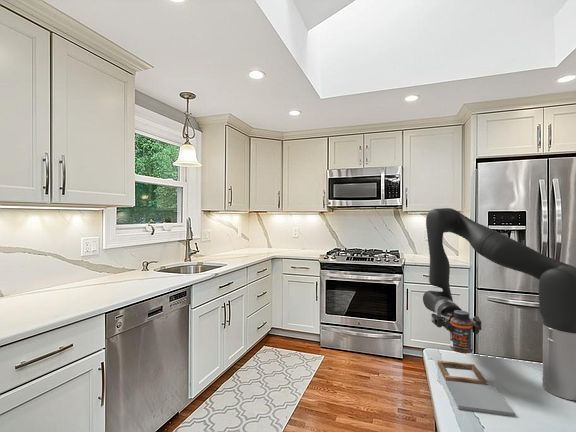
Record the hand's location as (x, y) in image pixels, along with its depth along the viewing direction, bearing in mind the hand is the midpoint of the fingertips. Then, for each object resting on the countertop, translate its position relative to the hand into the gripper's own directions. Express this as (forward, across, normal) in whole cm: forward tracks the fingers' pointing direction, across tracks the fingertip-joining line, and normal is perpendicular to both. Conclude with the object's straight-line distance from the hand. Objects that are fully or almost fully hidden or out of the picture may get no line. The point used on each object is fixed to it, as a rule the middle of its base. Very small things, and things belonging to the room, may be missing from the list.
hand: (464, 329), depth 92 cm
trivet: (+10, 0, +14) cm, 17 cm away
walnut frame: (-3, 0, +14) cm, 14 cm away
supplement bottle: (-2, 0, +7) cm, 8 cm away
